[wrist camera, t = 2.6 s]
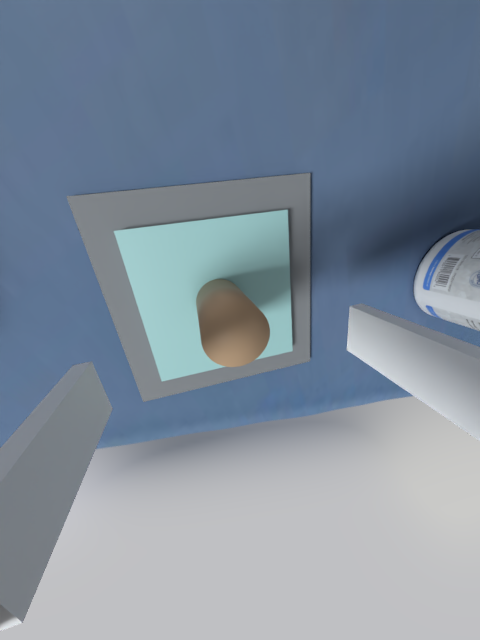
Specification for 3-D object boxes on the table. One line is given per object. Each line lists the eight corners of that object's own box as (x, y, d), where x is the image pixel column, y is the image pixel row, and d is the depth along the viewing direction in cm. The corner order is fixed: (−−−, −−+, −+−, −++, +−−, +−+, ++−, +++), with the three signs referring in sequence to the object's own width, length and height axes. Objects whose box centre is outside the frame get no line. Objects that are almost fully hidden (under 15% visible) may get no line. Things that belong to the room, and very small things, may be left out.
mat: (69, 197, 15) (66, 196, 15) (307, 174, 18) (310, 172, 18) (144, 398, 22) (143, 401, 22) (307, 358, 25) (310, 361, 25)
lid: (117, 231, 16) (61, 228, 9) (282, 210, 18) (346, 195, 11) (162, 375, 21) (150, 448, 14) (288, 346, 23) (334, 397, 16)
